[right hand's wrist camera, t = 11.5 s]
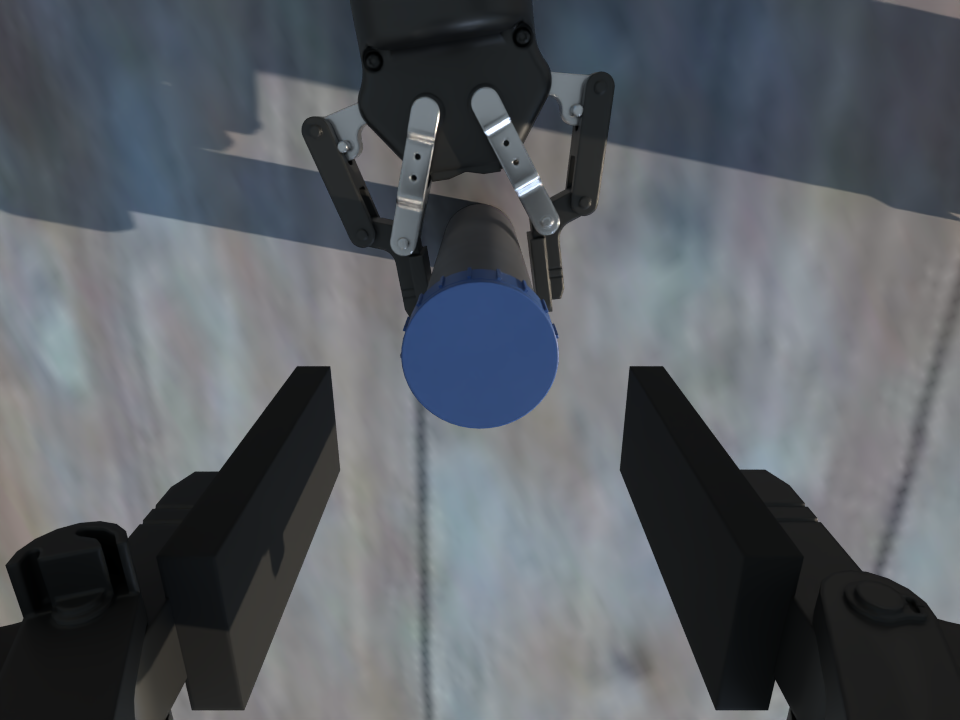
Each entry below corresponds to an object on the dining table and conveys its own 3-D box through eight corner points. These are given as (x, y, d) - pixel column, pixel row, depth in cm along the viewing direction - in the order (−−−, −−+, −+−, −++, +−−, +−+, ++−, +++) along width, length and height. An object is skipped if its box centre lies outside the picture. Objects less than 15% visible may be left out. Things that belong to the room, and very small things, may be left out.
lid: (568, 277, 19) (576, 292, 17) (540, 416, 21) (545, 440, 19) (413, 255, 19) (408, 268, 17) (398, 398, 20) (392, 420, 19)
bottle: (521, 209, 35) (561, 296, 18) (509, 280, 37) (536, 423, 19) (448, 198, 35) (418, 276, 18) (440, 270, 36) (404, 406, 19)
